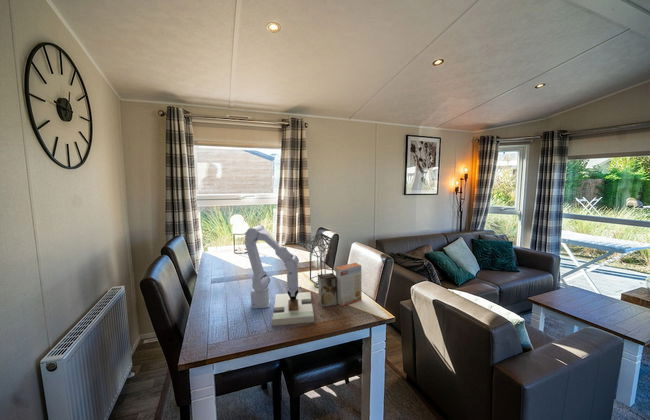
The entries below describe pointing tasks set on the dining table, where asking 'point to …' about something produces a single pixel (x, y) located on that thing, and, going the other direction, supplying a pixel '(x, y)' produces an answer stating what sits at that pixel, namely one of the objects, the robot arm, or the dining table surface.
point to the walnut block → (293, 305)
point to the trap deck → (292, 317)
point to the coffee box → (327, 289)
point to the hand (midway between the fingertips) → (293, 303)
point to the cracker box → (348, 284)
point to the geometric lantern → (320, 250)
